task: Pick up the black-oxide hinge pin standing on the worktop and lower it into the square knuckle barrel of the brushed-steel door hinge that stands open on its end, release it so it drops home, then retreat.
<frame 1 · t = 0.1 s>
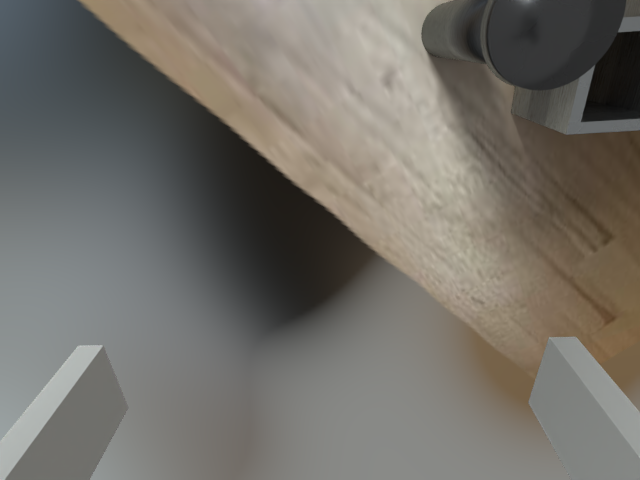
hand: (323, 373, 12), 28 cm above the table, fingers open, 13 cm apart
pin: (445, 30, 32), on the table
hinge: (559, 68, 33), on the table
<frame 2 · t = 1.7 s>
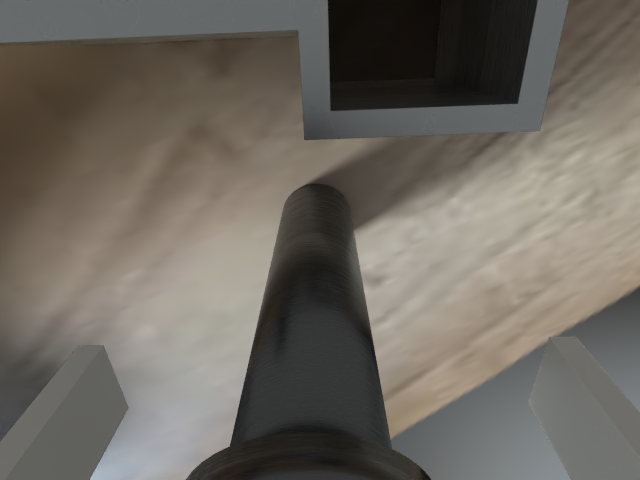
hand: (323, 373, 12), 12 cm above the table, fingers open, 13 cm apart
pin: (316, 216, 22), on the table
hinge: (382, 18, 18), on the table
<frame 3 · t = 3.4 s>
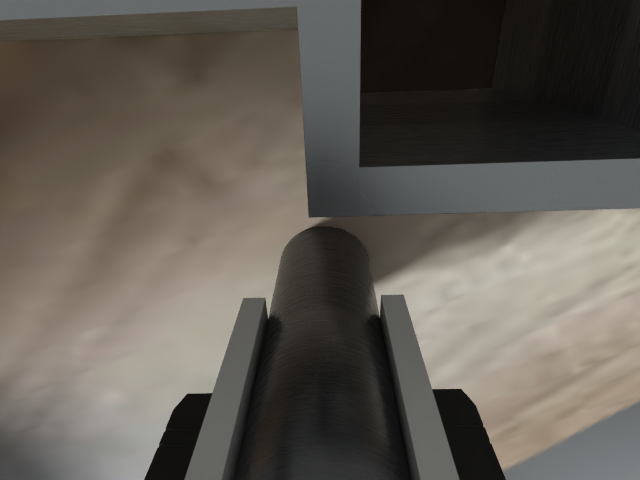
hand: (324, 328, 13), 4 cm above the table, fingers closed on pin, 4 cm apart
pin: (324, 266, 17), on the table, touching gripper
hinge: (422, 2, 12), on the table
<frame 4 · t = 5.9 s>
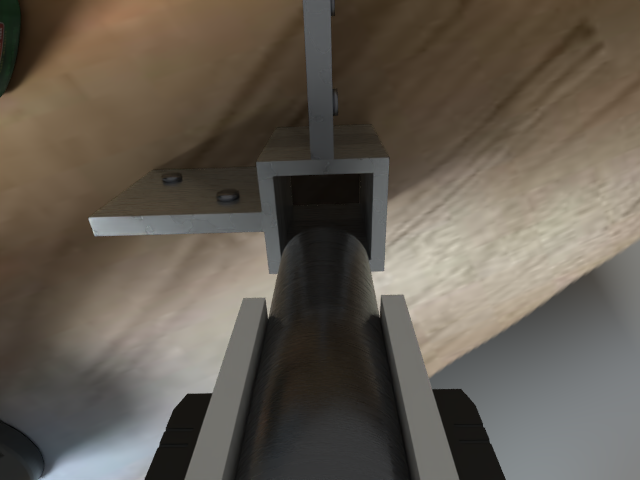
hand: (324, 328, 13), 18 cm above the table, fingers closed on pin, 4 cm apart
pin: (324, 266, 17), point 14 cm above the table, touching gripper
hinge: (325, 171, 29), on the table
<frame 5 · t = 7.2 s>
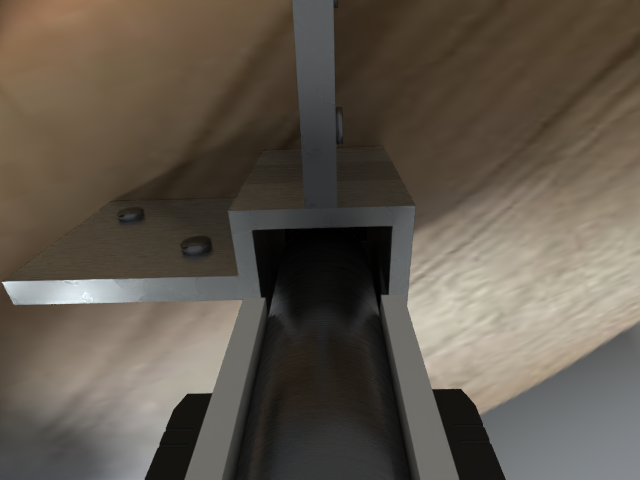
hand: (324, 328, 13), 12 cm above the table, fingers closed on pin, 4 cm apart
pin: (324, 266, 17), point 7 cm above the table, touching gripper
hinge: (324, 203, 24), on the table
when the fingers open (11 cm above the table, at t = 8.3 s): pin drops 7 cm, resting in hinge.
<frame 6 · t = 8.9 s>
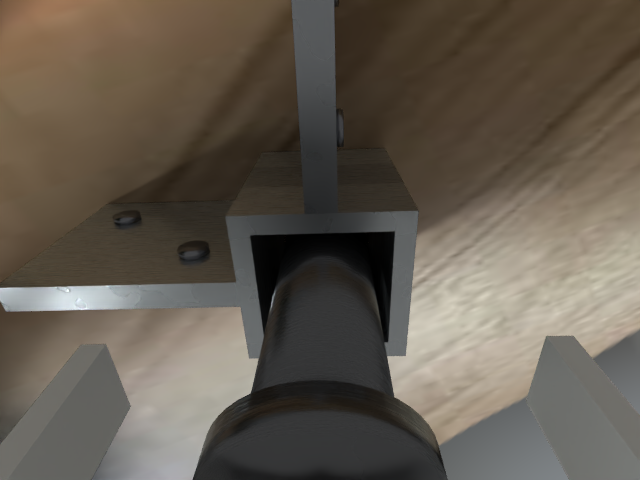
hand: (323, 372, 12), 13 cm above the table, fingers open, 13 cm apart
pin: (326, 206, 23), resting in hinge
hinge: (325, 206, 23), on the table
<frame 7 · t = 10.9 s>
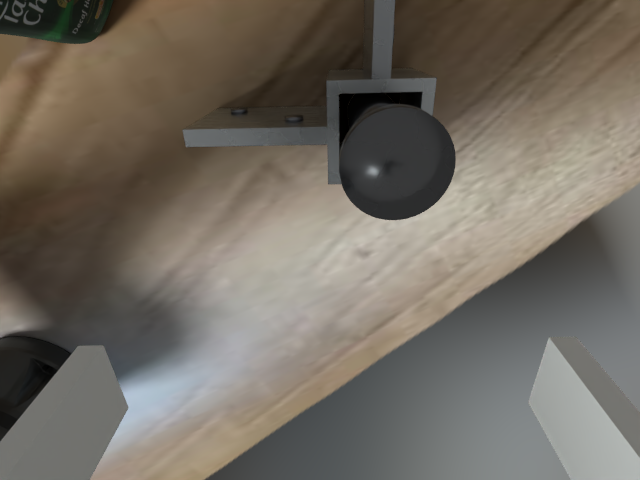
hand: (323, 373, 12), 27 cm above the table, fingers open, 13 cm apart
pin: (369, 111, 34), resting in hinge
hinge: (368, 111, 34), on the table
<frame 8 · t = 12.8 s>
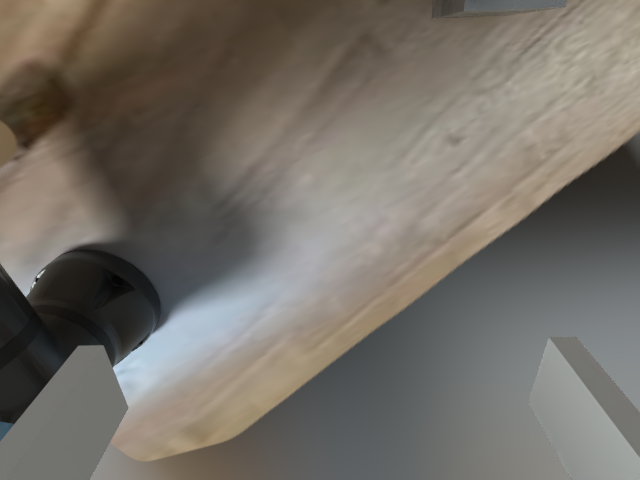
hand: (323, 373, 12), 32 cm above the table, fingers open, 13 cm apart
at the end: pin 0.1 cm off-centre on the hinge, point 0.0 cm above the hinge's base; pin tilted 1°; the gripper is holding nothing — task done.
